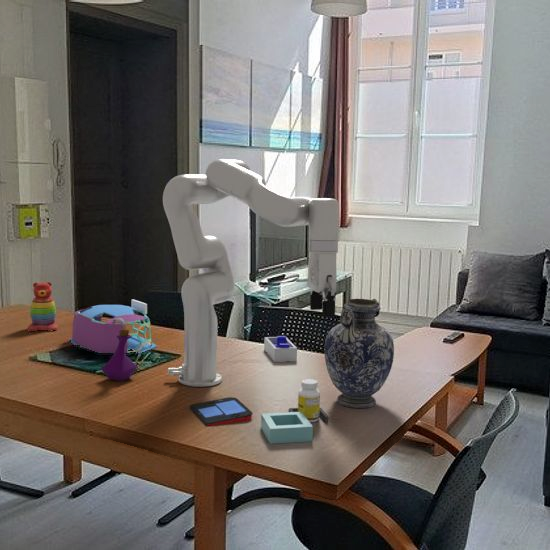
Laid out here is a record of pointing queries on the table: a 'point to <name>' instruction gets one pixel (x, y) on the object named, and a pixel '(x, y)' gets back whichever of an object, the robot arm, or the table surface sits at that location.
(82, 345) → the stadium
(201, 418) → the game console
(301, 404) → the supplement bottle
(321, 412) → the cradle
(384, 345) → the decorative vase
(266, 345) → the box
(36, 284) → the stacking bear
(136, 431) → the table surface
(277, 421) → the port
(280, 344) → the cable clip
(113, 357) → the perfume bottle
